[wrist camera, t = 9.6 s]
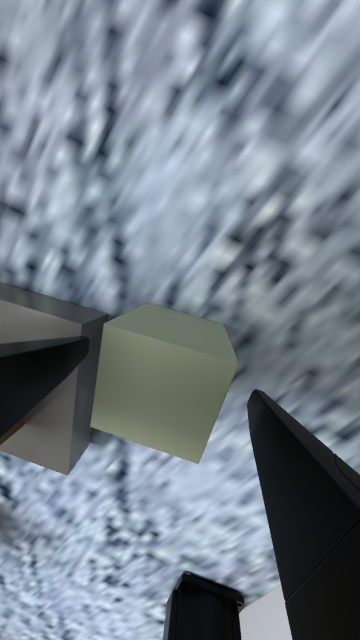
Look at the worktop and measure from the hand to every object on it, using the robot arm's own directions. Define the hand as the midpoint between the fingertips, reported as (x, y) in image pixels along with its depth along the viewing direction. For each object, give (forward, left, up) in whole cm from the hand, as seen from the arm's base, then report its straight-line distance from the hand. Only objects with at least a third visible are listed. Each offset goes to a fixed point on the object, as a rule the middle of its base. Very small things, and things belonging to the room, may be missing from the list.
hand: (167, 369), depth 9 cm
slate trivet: (+11, +5, -3) cm, 12 cm away
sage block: (0, 0, -3) cm, 3 cm away
